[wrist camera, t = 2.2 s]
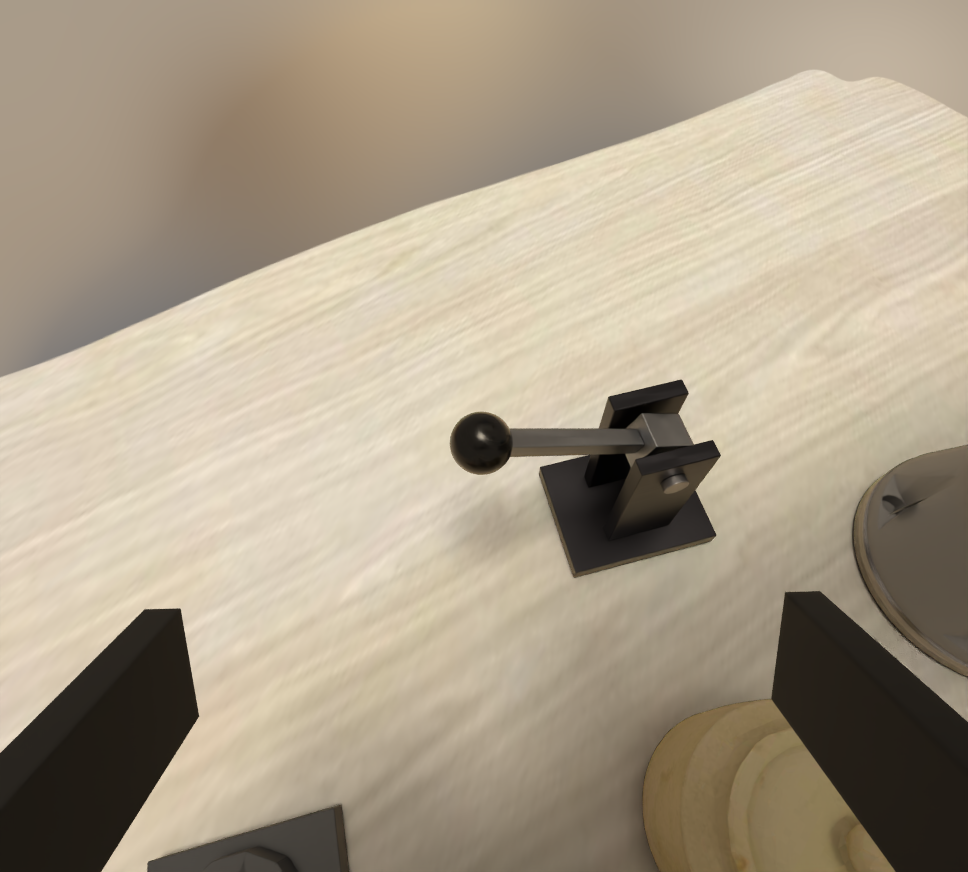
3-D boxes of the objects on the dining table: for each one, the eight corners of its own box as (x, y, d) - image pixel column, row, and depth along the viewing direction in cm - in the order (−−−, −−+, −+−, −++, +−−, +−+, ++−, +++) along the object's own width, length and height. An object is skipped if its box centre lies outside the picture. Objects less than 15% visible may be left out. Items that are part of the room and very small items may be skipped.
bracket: (573, 577, 39) (600, 515, 28) (538, 473, 43) (551, 385, 32) (711, 541, 40) (785, 468, 29) (665, 442, 44) (717, 347, 33)
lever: (448, 487, 27) (472, 455, 25) (435, 433, 29) (456, 398, 26) (667, 476, 34) (702, 449, 31) (647, 432, 35) (679, 404, 33)
